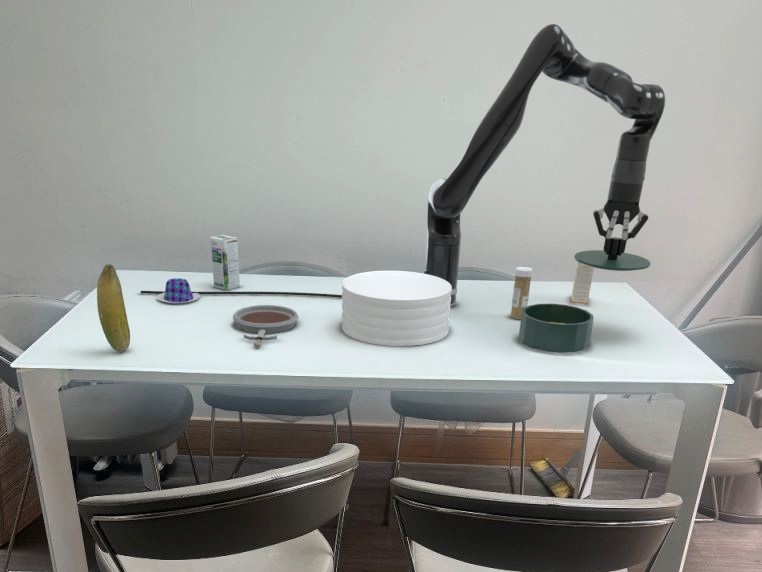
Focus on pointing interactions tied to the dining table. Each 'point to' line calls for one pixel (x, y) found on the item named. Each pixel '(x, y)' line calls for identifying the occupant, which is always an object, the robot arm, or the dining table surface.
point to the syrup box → (225, 262)
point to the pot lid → (612, 259)
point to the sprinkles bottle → (520, 291)
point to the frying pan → (265, 321)
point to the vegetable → (112, 309)
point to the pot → (555, 327)
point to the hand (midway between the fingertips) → (613, 254)
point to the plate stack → (396, 307)
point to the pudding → (178, 292)
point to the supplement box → (582, 283)
